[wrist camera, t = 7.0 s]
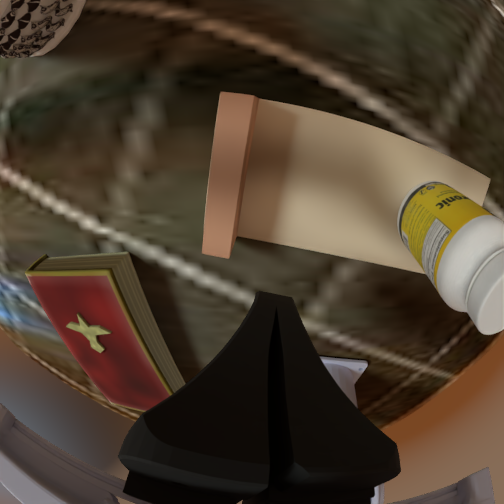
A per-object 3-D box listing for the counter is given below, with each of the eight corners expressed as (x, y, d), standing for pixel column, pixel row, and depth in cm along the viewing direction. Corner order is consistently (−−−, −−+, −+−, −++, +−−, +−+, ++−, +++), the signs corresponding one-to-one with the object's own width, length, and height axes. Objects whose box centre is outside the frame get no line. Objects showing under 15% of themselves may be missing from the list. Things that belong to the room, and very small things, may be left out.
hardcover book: (119, 381, 32) (108, 404, 29) (46, 252, 22) (21, 274, 19) (196, 394, 30) (188, 422, 27) (133, 244, 20) (107, 273, 17)
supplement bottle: (464, 188, 15) (556, 257, 6) (442, 254, 17) (507, 345, 9) (406, 169, 15) (505, 237, 6) (385, 243, 17) (444, 350, 9)
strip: (448, 277, 18) (465, 301, 16) (204, 228, 19) (190, 251, 16) (489, 178, 14) (514, 192, 11) (220, 94, 14) (207, 90, 11)
